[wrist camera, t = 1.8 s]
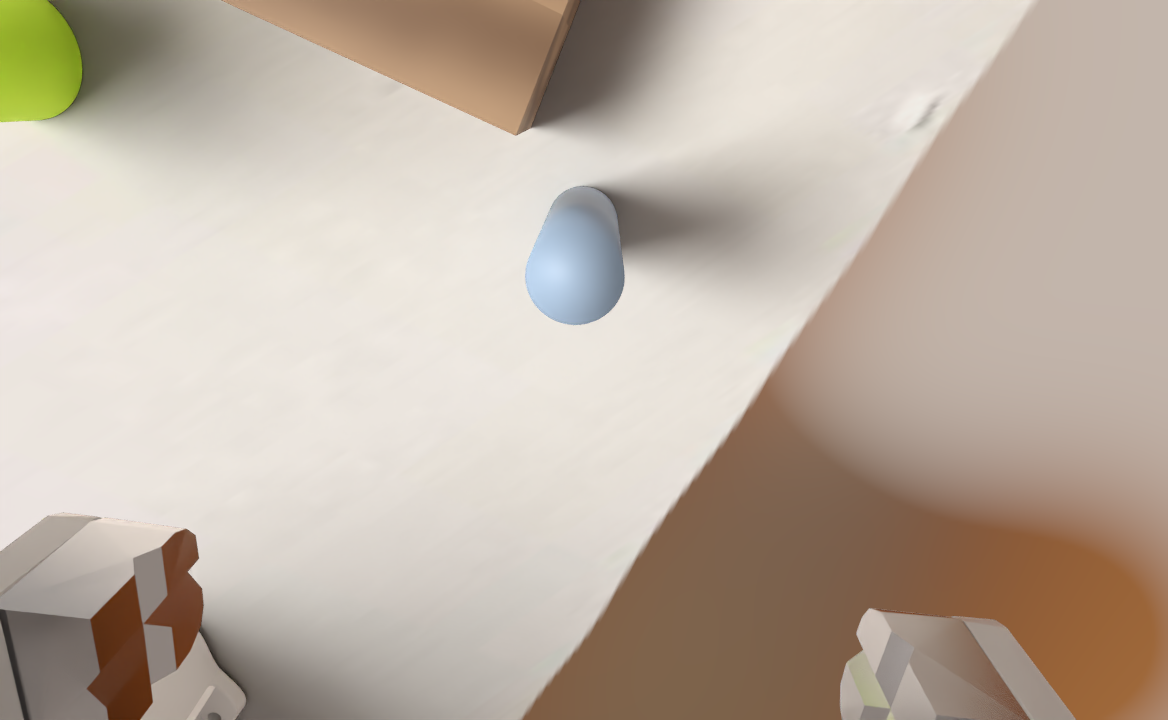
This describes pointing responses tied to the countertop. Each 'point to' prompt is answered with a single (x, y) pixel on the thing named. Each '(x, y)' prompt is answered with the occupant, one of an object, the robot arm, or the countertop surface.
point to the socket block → (442, 46)
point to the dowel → (577, 259)
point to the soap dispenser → (36, 61)
